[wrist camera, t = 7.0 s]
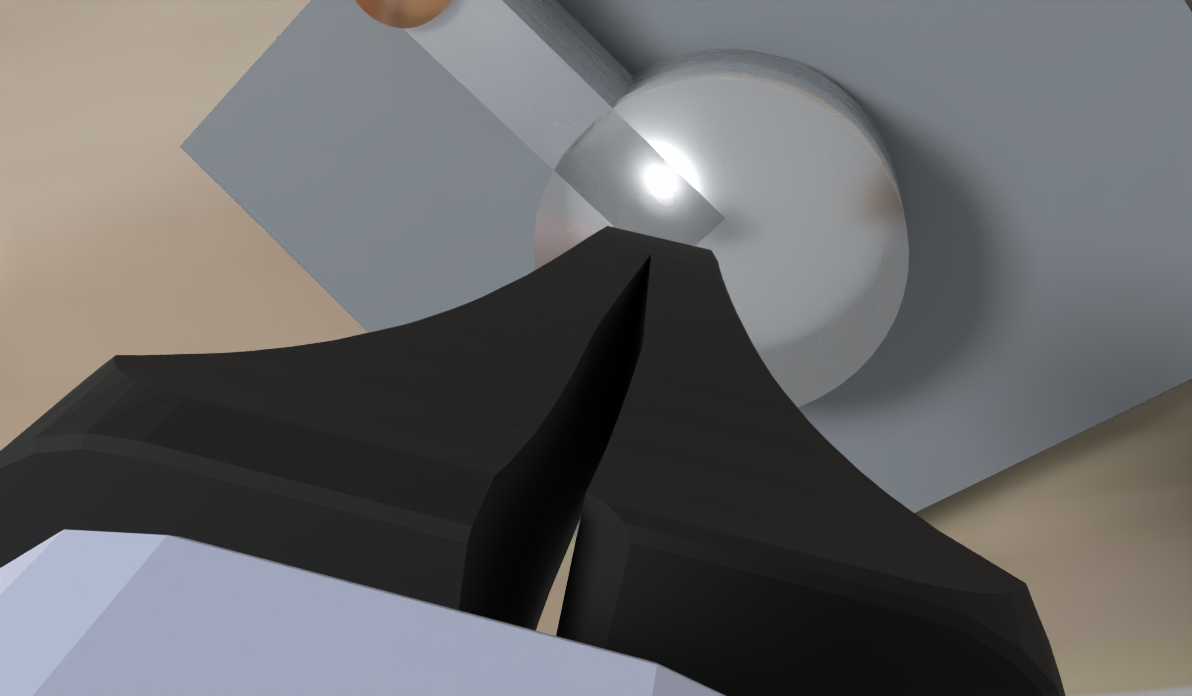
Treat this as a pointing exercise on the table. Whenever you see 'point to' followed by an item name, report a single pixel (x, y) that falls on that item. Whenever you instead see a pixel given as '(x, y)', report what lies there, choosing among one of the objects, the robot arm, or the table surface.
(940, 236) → the dial board
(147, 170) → the table surface
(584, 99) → the dial
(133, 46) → the table surface
